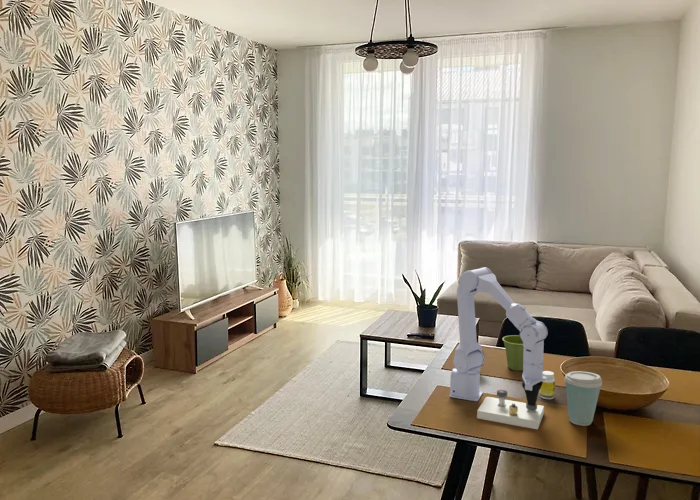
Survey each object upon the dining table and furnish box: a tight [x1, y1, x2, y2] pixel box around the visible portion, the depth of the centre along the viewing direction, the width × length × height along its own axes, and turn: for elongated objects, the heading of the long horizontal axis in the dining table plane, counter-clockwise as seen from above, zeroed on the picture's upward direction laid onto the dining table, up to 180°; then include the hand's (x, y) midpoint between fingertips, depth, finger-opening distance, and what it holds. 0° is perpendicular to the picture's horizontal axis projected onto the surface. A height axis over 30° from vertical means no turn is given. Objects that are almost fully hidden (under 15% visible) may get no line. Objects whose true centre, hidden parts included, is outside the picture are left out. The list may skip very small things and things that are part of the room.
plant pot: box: [502, 334, 524, 372], centre depth 219 cm, size 12×12×11 cm
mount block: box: [476, 396, 545, 430], centre depth 178 cm, size 18×12×2 cm, turn 63°
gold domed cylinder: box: [509, 404, 518, 416], centre depth 174 cm, size 2×2×3 cm
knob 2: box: [525, 402, 538, 412], centre depth 176 cm, size 3×3×4 cm
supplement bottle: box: [539, 370, 556, 400], centre depth 192 cm, size 5×5×8 cm
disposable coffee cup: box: [564, 370, 603, 427], centre depth 173 cm, size 11×11×15 cm
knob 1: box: [496, 389, 508, 406], centre depth 180 cm, size 3×3×4 cm
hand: (531, 404), depth 176 cm, fingers closed, pressing on knob 2
